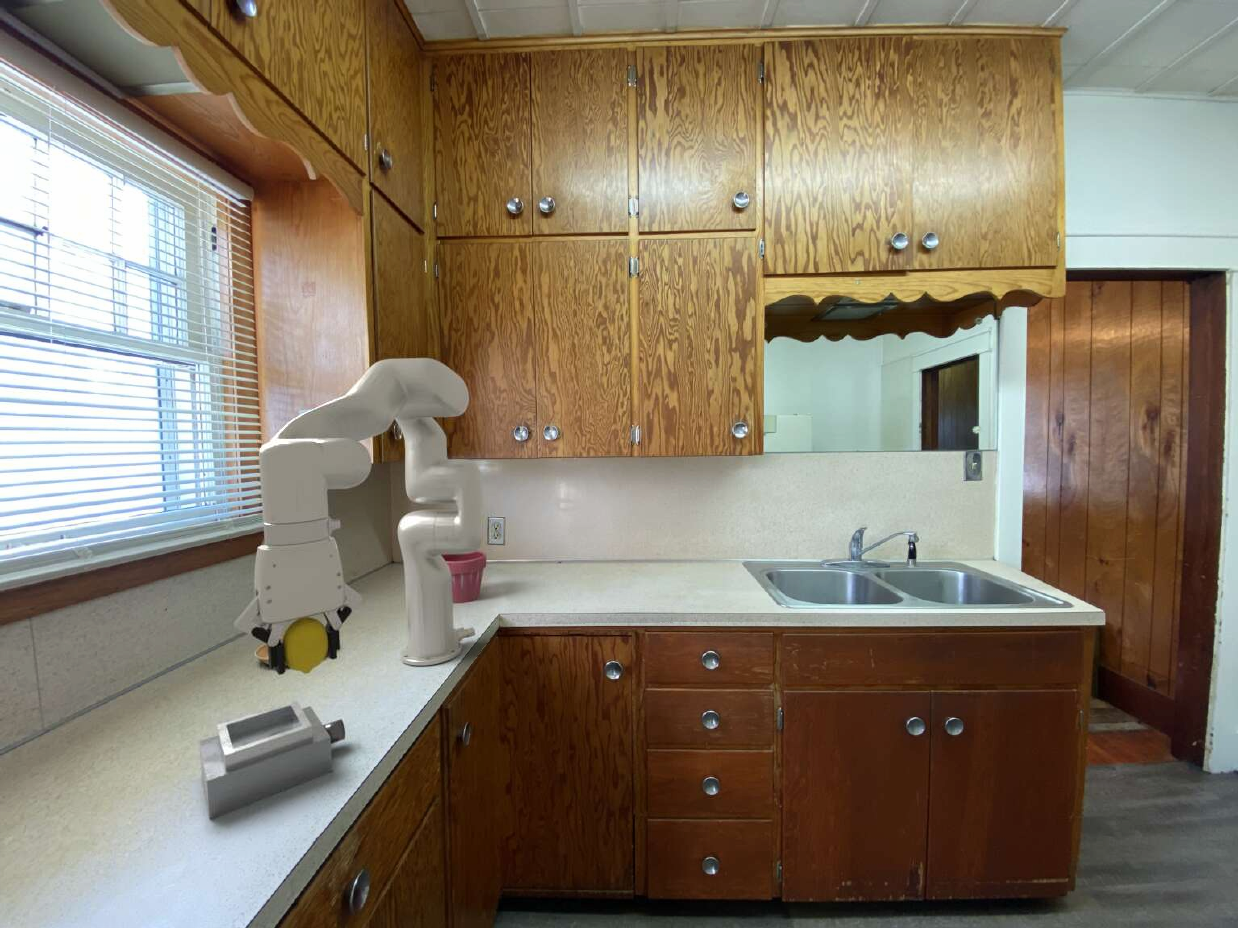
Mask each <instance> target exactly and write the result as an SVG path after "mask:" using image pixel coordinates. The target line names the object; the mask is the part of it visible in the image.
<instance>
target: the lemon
mask: <svg viewBox="0 0 1238 928" xmlns="http://www.w3.org/2000/svg"><path fill="white" fill-rule="evenodd" d="M281 638H282V644H283V645H284V657H285V663H286V665H287V666H286V667H289V669H292V670H294V671H297V672H301V673H303V674H310V672H311V671H312V670H313V669H315V668H316V667H318V666H319V665H320V664H322V662H323V660H325V658H326V656H327V655H326V654H327V651H328V636H327V632H326V629H325V626H324V624H323V622H321V621H319V620H318V619H316V618H314V617H313V618H312V617H305V618H300V619H296V620H294V621H293V622H292V623H290V624H289V626H287V628H286V629H285V631H284V633H283V635H282V637H281Z"/></svg>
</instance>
